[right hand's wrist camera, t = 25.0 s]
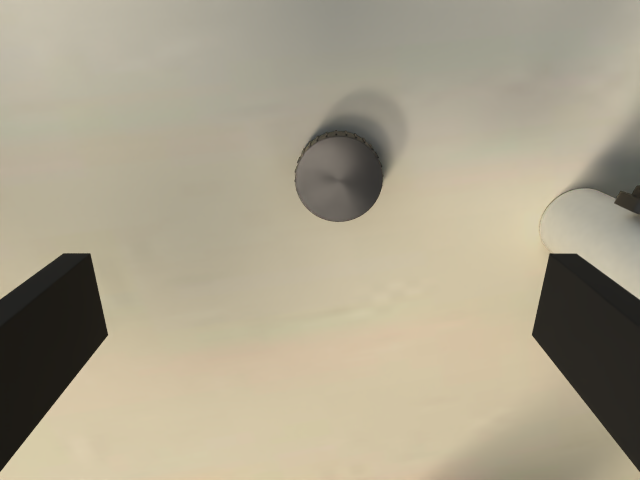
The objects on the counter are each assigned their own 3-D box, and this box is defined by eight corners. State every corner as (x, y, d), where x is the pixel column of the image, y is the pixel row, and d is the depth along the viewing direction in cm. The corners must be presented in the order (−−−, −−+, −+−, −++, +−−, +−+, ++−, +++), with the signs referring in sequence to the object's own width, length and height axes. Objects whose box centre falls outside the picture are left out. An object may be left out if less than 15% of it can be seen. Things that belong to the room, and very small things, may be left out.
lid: (365, 221, 30) (368, 232, 28) (288, 200, 29) (284, 210, 27) (391, 143, 28) (396, 149, 26) (308, 119, 27) (306, 123, 25)
